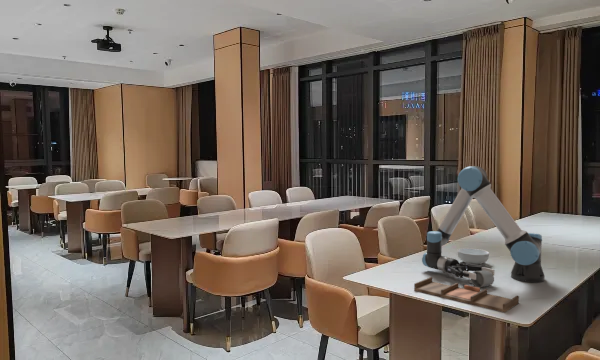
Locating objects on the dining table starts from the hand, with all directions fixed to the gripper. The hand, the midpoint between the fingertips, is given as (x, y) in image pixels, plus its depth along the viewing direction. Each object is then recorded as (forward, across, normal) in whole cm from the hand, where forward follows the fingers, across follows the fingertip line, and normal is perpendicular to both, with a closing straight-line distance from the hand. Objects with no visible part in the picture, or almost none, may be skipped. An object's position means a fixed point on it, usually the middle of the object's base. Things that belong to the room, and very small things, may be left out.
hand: (485, 274), depth 212 cm
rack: (+4, +20, -6) cm, 21 cm away
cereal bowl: (-32, -34, -6) cm, 47 cm away
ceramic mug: (-3, 0, -6) cm, 7 cm away
